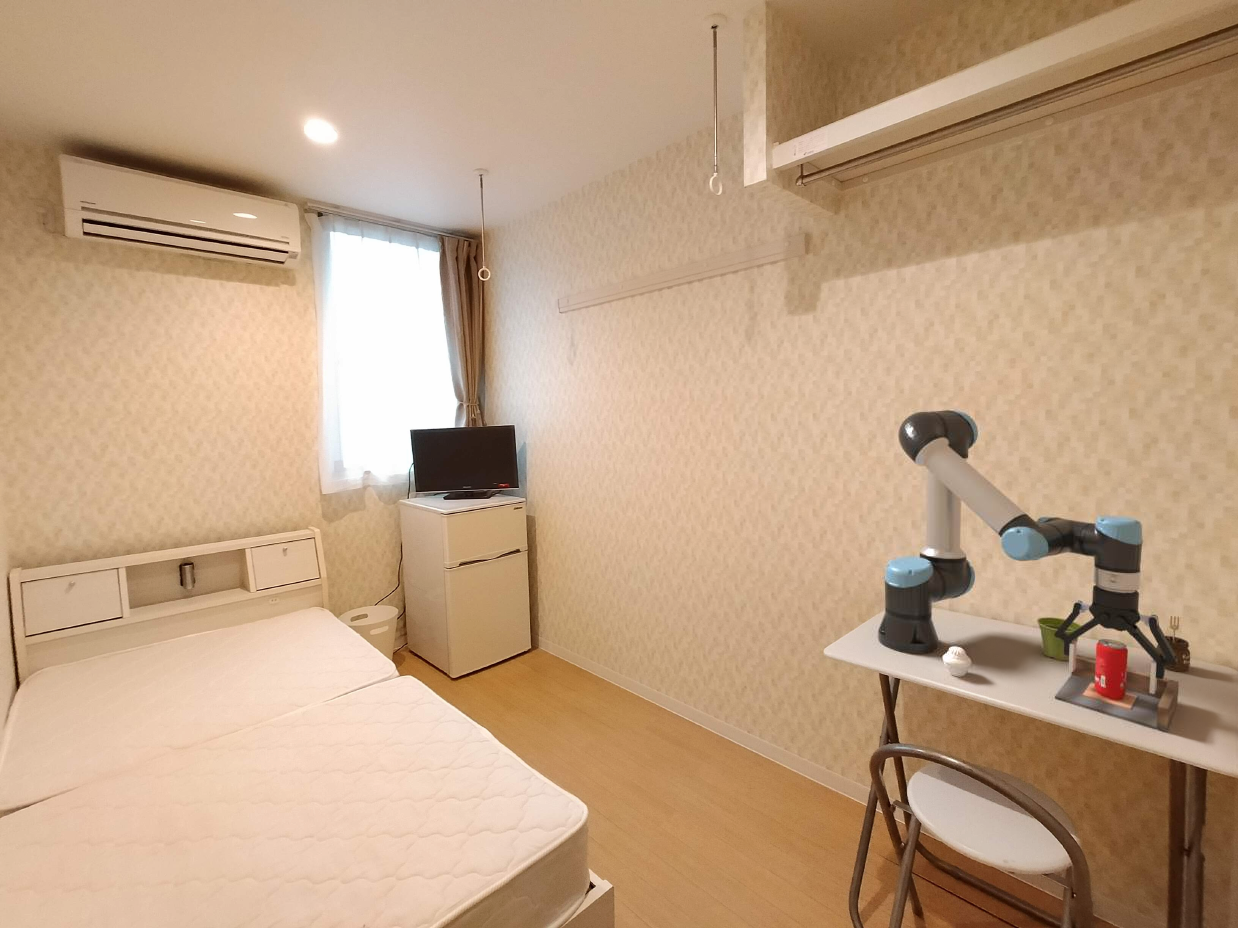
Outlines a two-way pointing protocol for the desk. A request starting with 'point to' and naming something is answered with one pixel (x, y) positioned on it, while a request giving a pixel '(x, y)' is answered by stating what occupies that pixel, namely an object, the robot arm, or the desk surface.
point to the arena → (1133, 705)
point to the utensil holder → (1177, 650)
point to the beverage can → (1111, 669)
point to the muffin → (956, 661)
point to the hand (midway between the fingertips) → (1110, 680)
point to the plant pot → (1049, 641)
